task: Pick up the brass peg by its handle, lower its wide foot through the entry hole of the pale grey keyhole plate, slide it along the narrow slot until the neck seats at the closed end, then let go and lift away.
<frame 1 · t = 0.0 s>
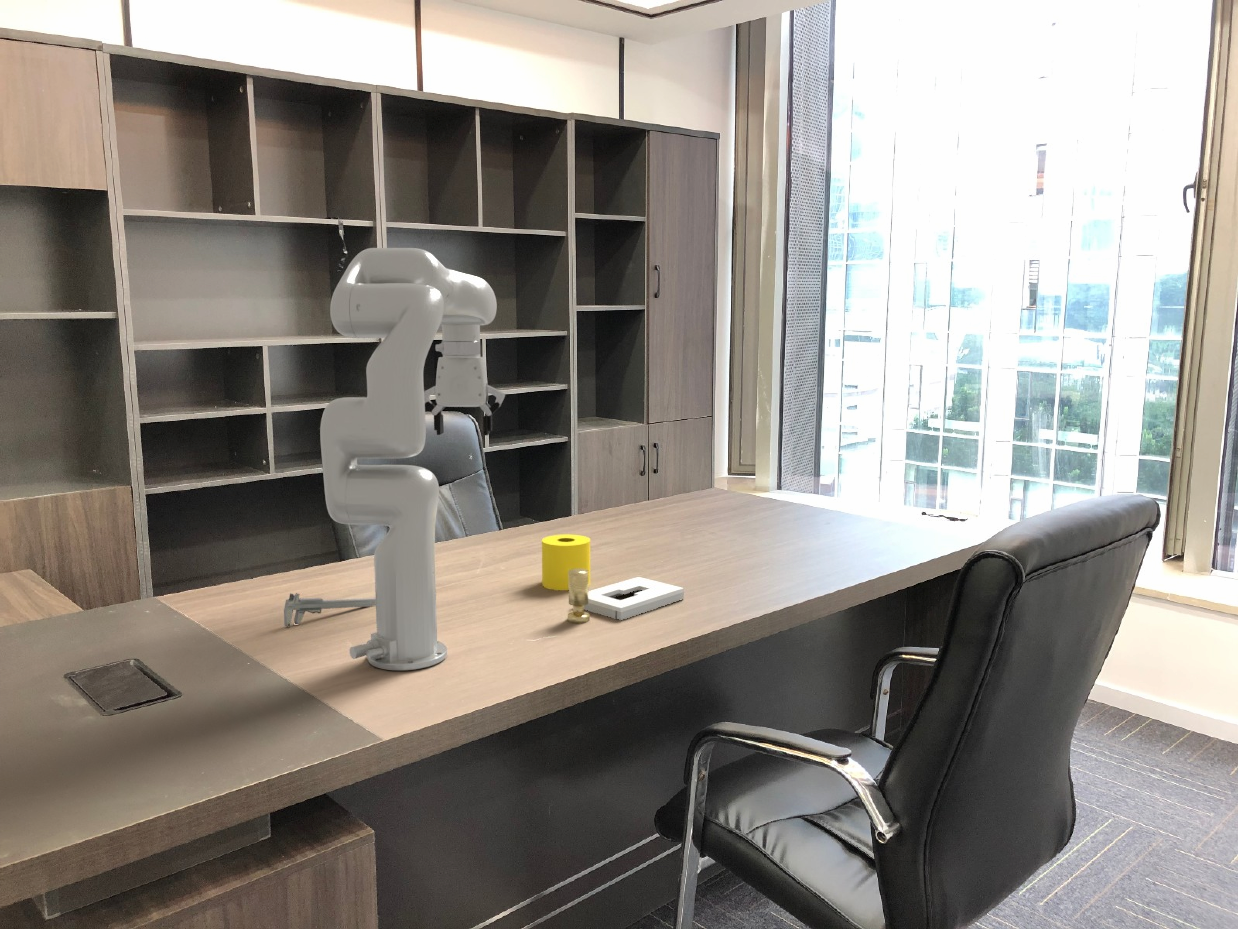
hand: (463, 434, 194), 31 cm above the table, tool pointing down, fingers open, 9 cm apart
yellow toilet paper roll: (566, 585, 198), on the table
caliper: (336, 617, 177), on the table
brass peg: (578, 619, 174), on the table
keyhole plate: (630, 603, 184), on the table
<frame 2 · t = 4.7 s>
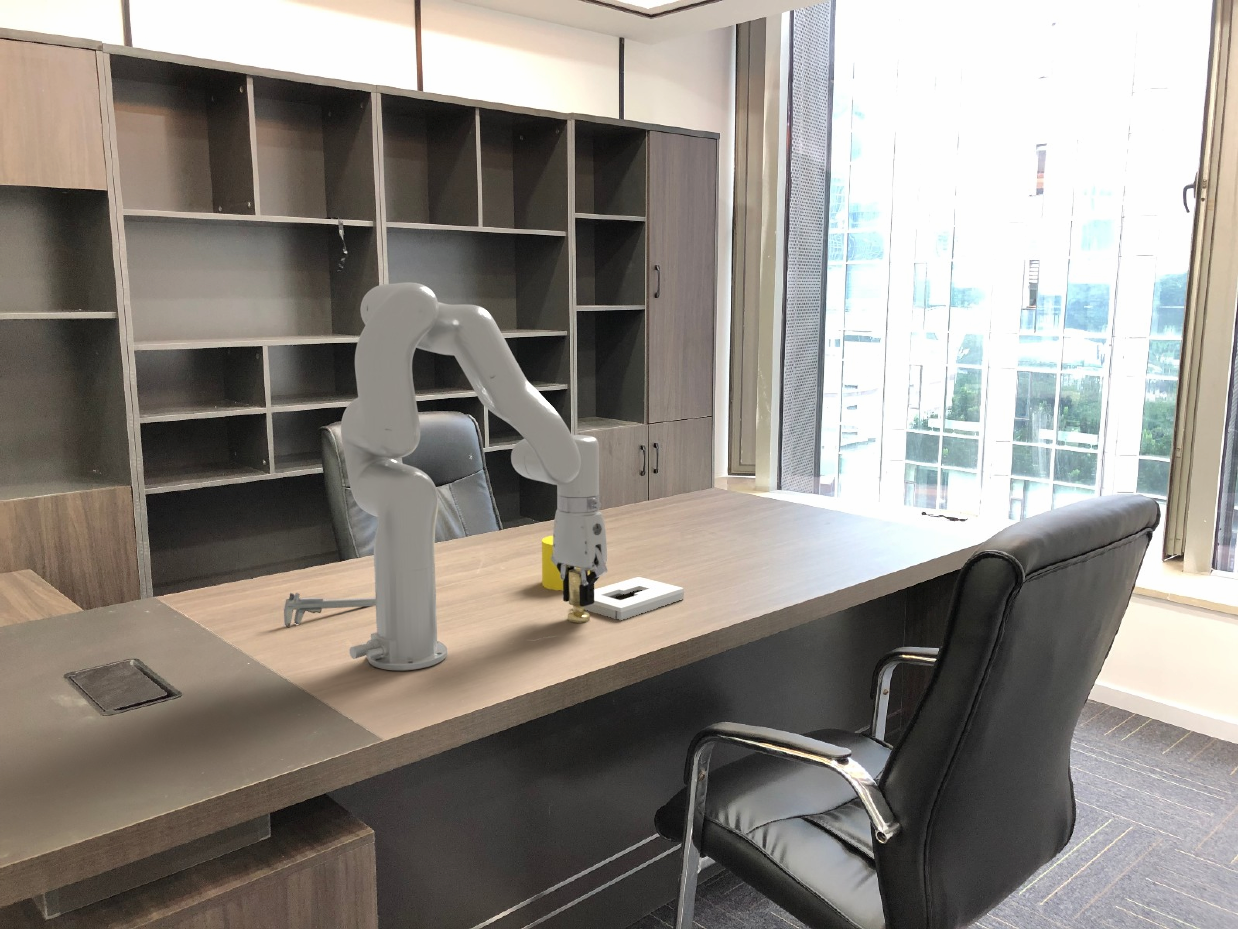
hand: (578, 601, 173), 3 cm above the table, tool pointing down, fingers closed on brass peg, 3 cm apart
brass peg: (578, 619, 174), on the table, touching gripper
everything else where it was.
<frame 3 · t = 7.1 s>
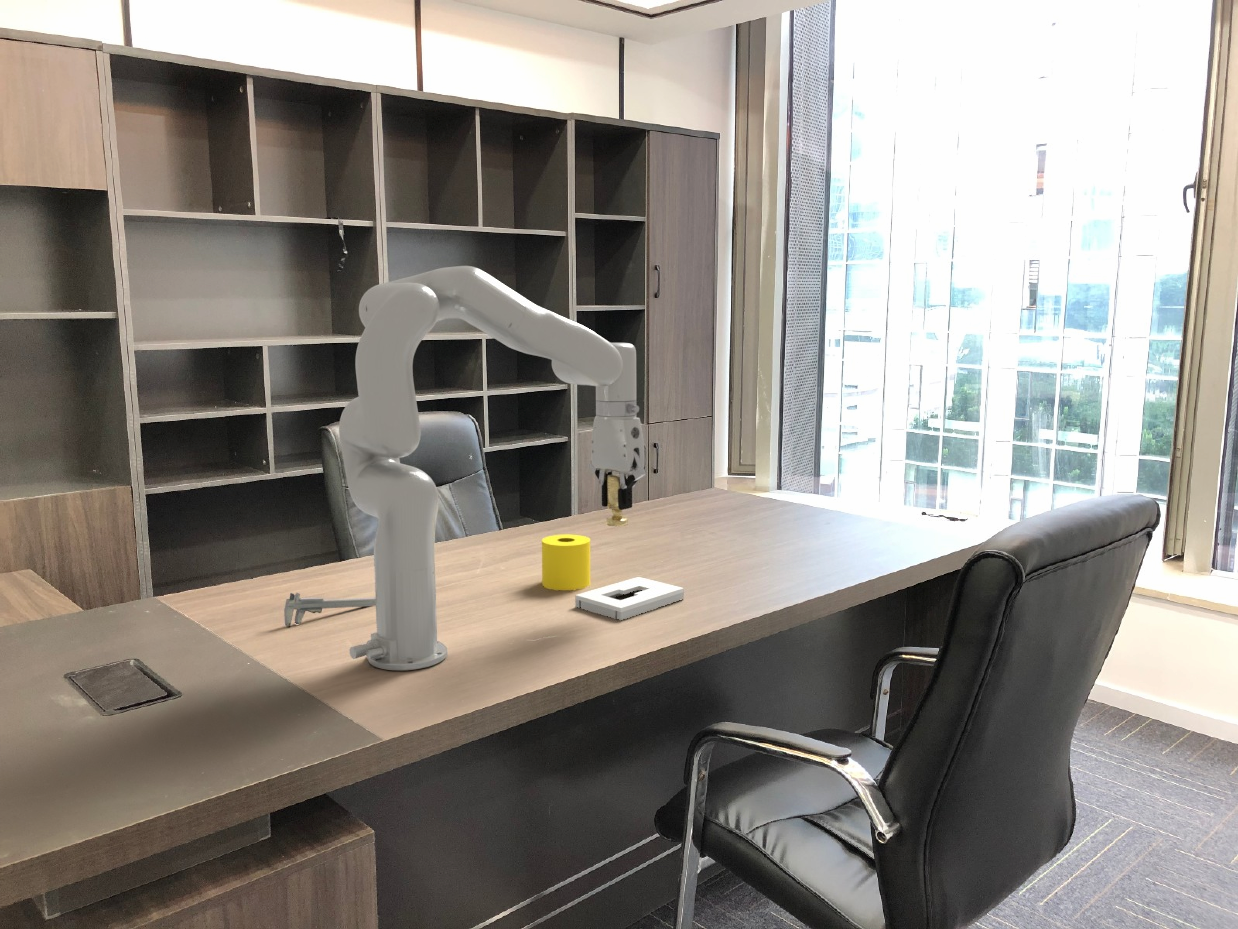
hand: (616, 506, 178), 20 cm above the table, tool pointing down, fingers closed on brass peg, 3 cm apart
brass peg: (617, 524, 179), point 16 cm above the table, touching gripper
everything else where it was.
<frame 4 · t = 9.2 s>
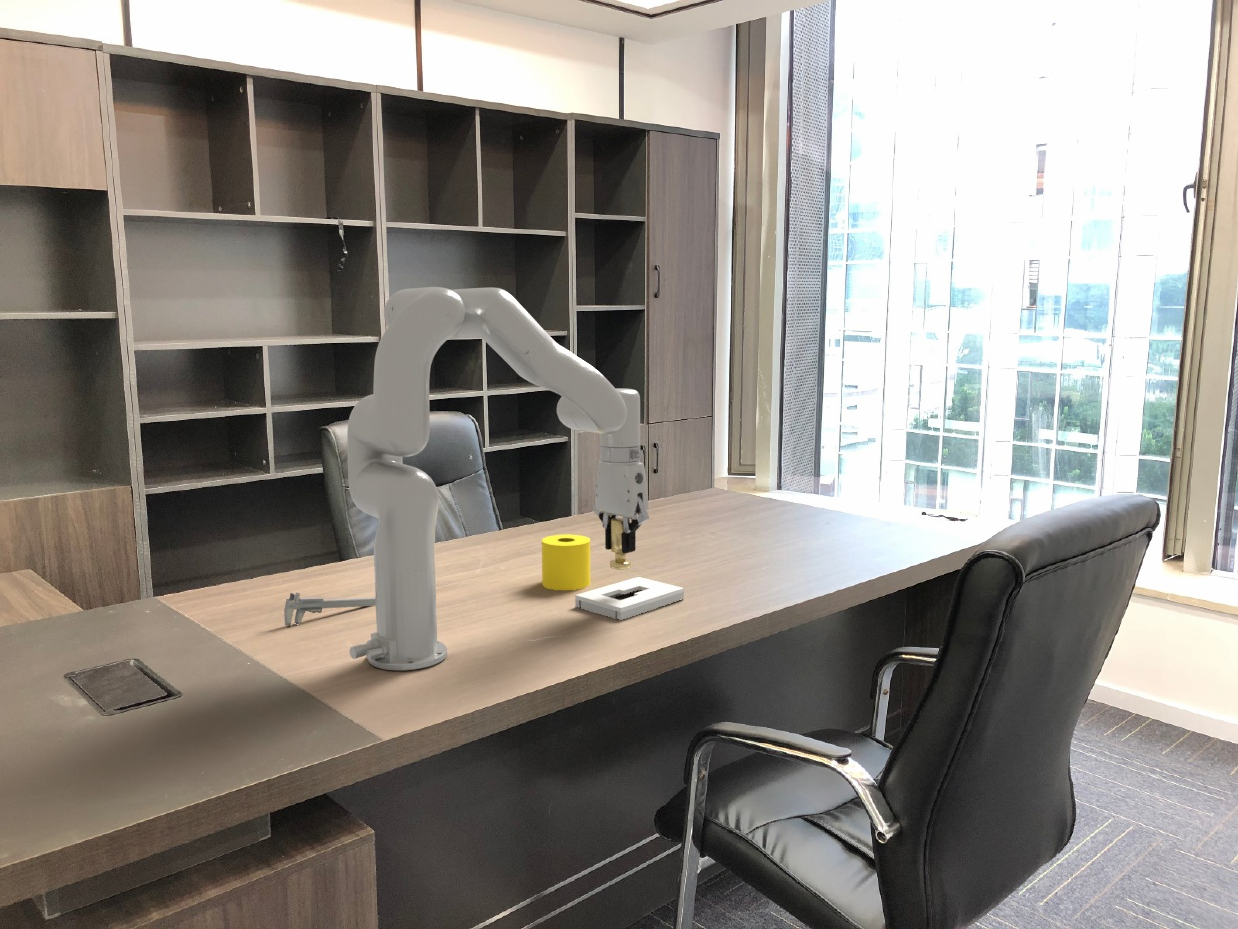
hand: (620, 549, 180), 11 cm above the table, tool pointing down, fingers closed on brass peg, 3 cm apart
brass peg: (620, 566, 181), point 8 cm above the table, touching gripper
everything else where it was.
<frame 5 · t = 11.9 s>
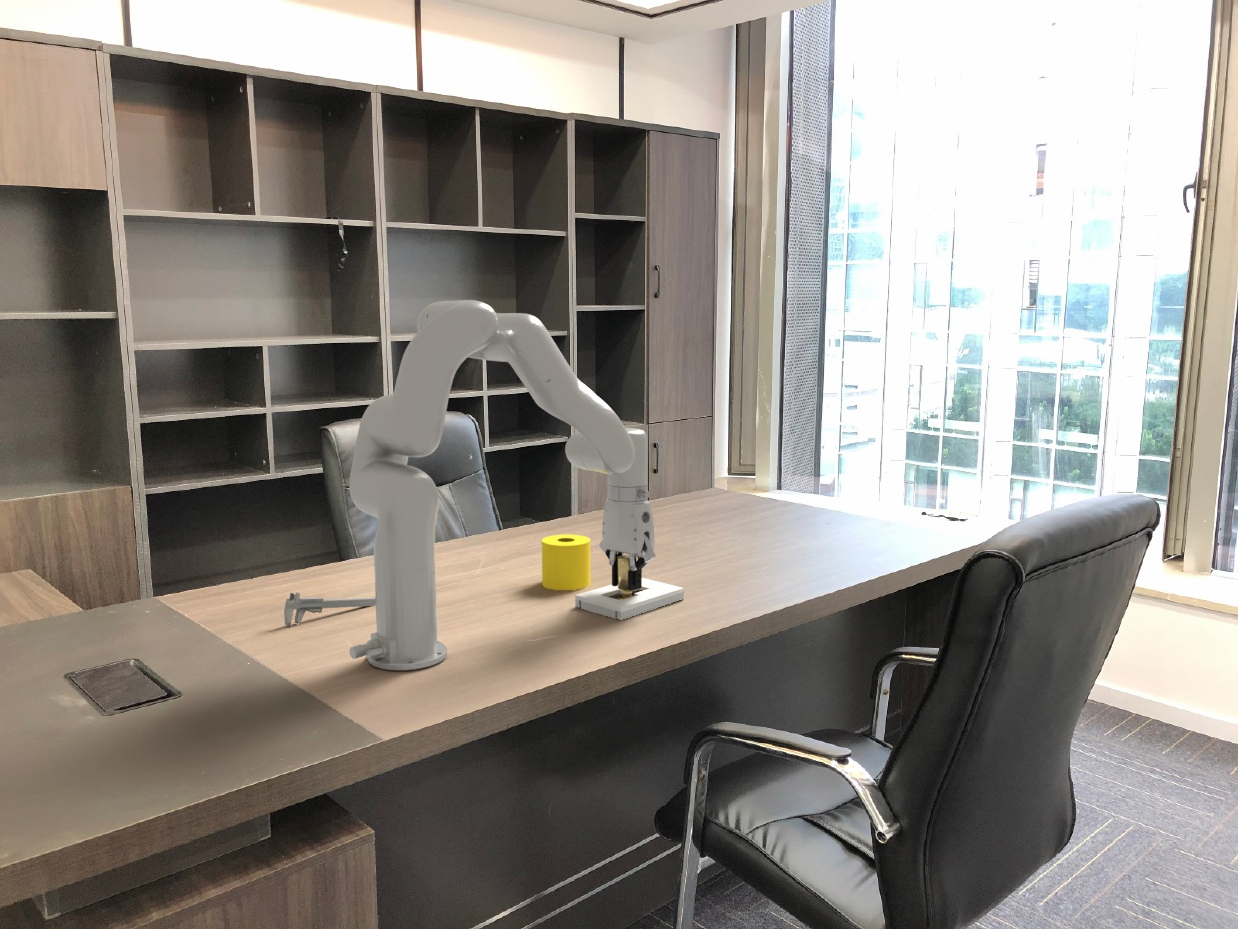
hand: (626, 586, 183), 4 cm above the table, tool pointing down, fingers closed on brass peg, 3 cm apart
brass peg: (626, 603, 183), resting in keyhole plate, touching gripper
everything else where it was.
when the fingers open (4 cm above the table, at t = 14.0 s): brass peg stays where it is, resting in keyhole plate.
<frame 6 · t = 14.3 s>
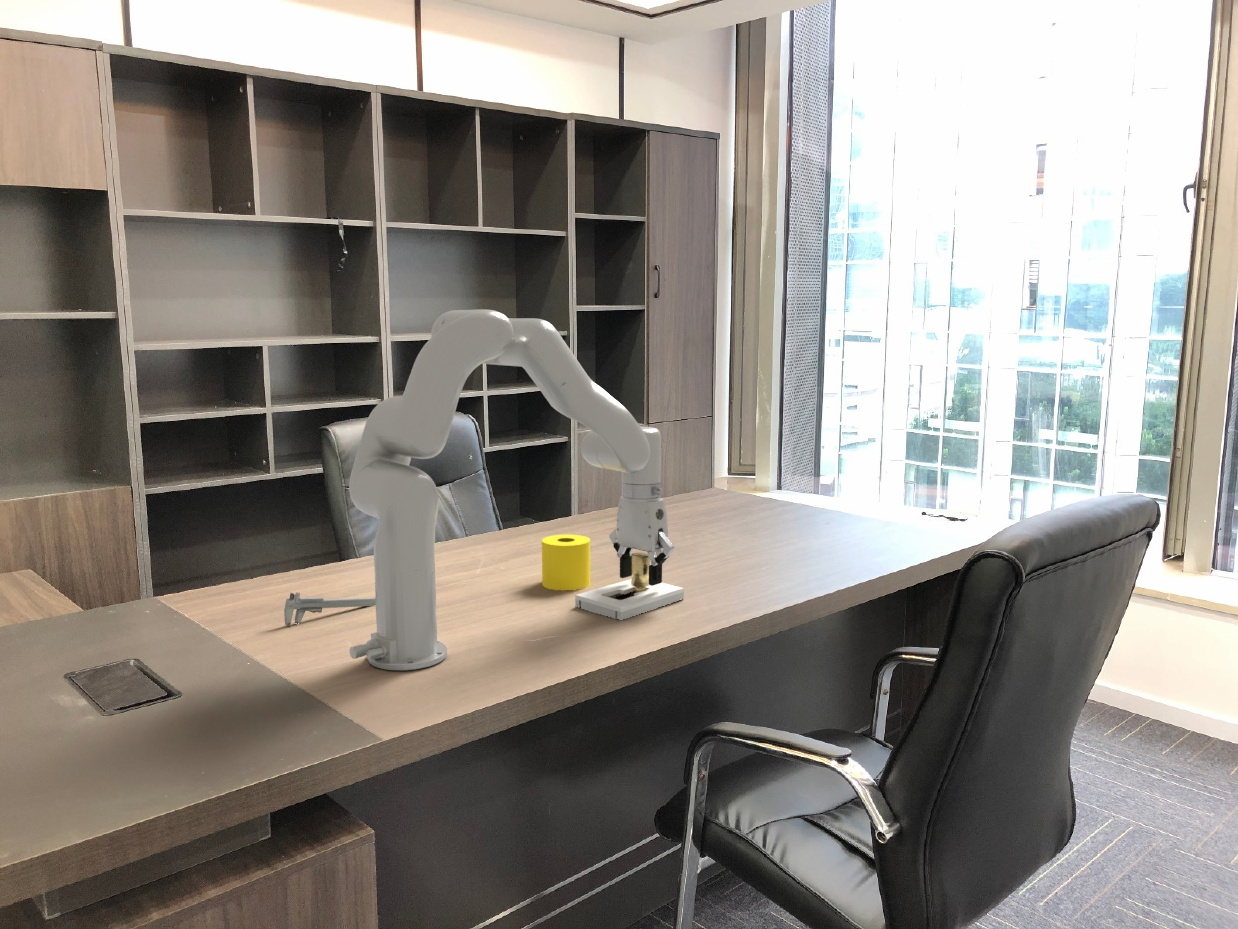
hand: (640, 579, 186), 4 cm above the table, tool pointing down, fingers open, 7 cm apart
brass peg: (640, 600, 186), resting in keyhole plate
everything else where it was.
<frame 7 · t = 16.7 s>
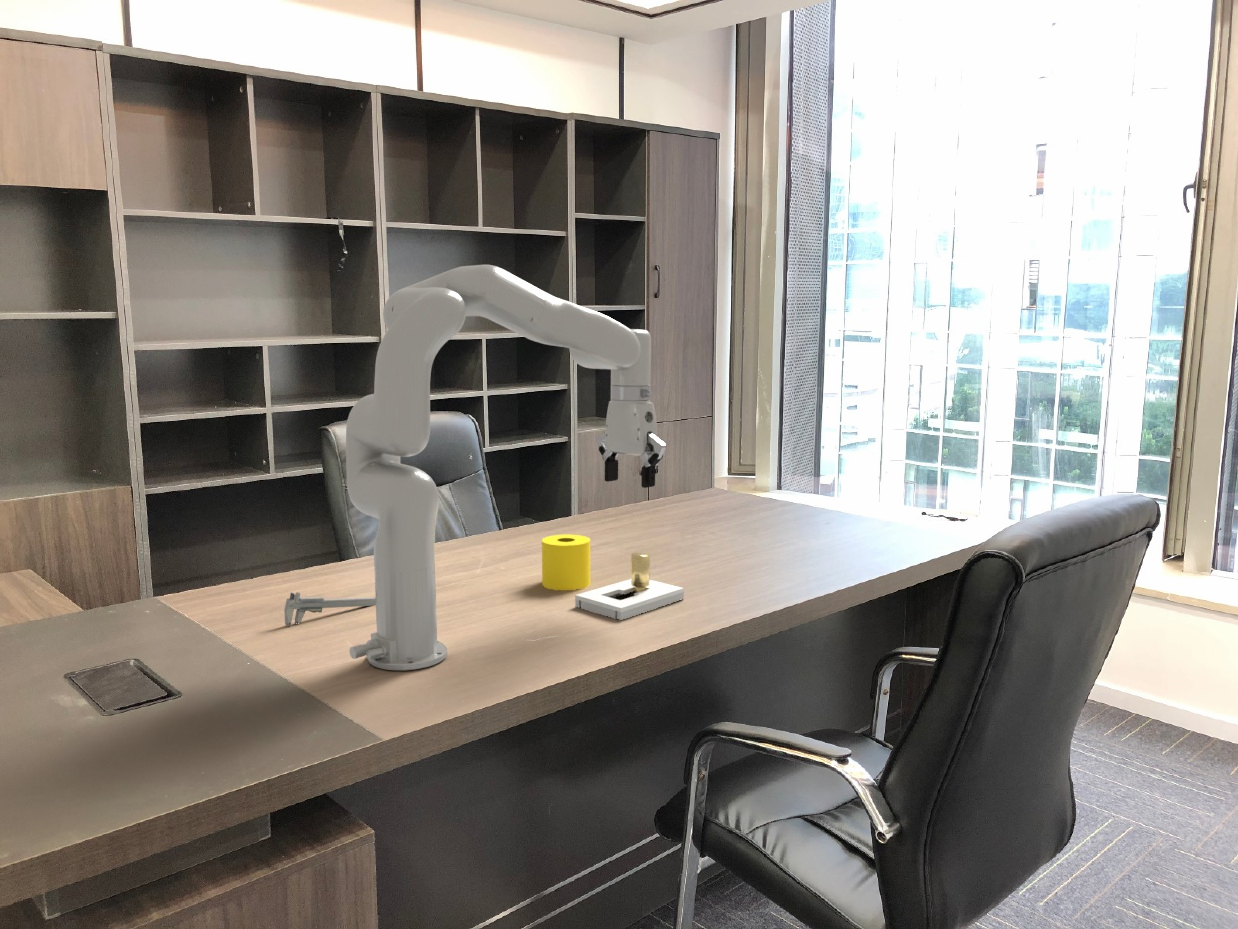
hand: (629, 483, 182), 23 cm above the table, tool pointing down, fingers open, 9 cm apart
nothing on the table moved.
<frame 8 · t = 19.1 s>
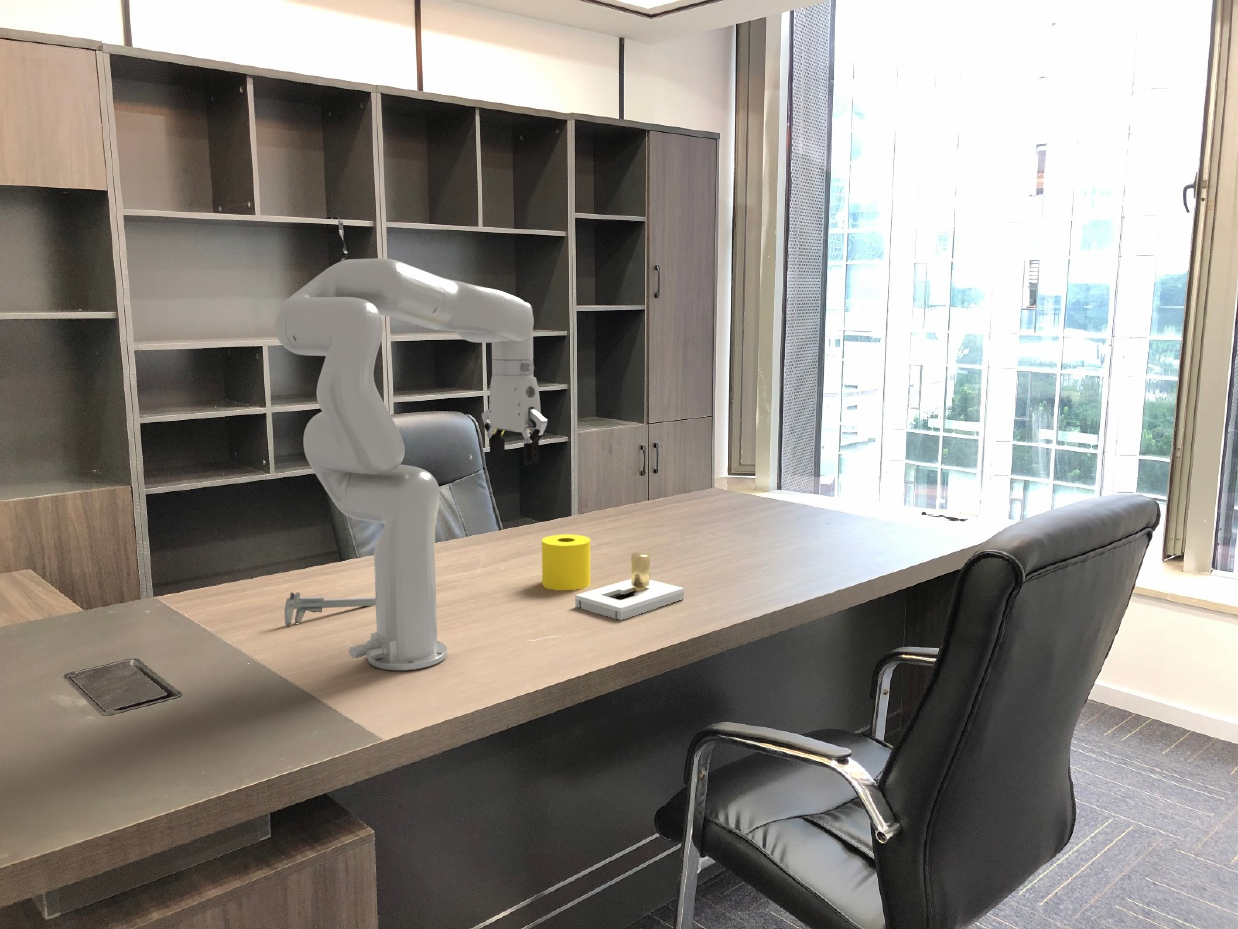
hand: (514, 461, 177), 28 cm above the table, tool pointing down, fingers open, 9 cm apart
nothing on the table moved.
at the end: brass peg 0.3 cm from the target spot on the keyhole plate, point 0.0 cm above the keyhole plate's base; the gripper is holding nothing; brass peg tilted 0° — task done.
